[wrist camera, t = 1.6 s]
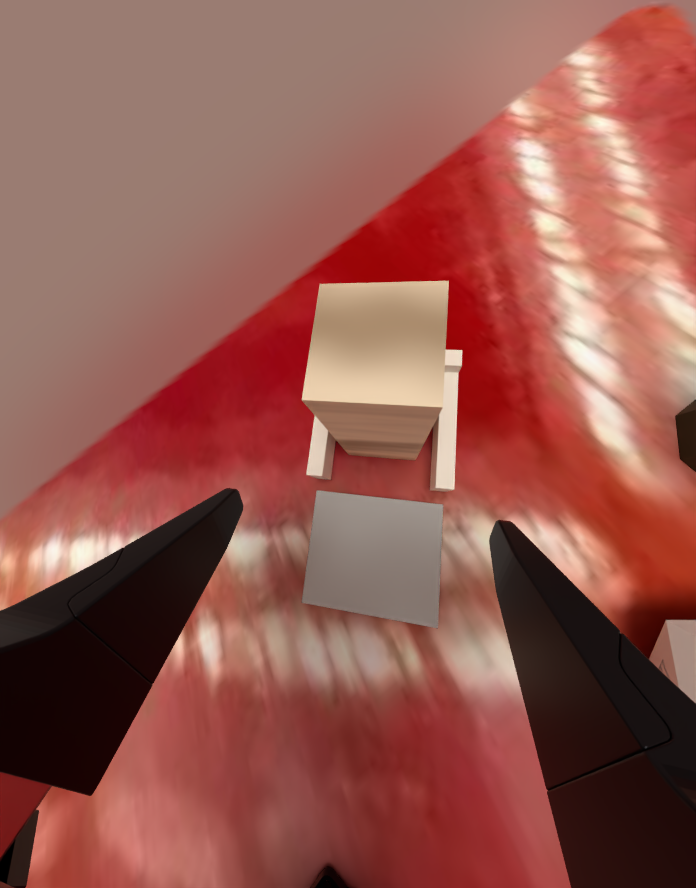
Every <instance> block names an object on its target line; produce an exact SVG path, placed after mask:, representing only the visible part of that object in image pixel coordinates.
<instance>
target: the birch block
mask: <svg viewBox="0 0 696 888" xmlns="http://www.w3.org/2000/svg"><path fill="white" fill-rule="evenodd" d="M448 285H449V281H423V282H383V283H342V284H320V287H319V293H318V299H317V306H316V312H315V319H314V325H313V331H312V338H311V344H310V351H309V357H308V364H307V370H306V376H305V383H304V389H303V396H302V401H303V402H304V403H305V404H306V405H307V407H308V408H309V409H310V410H311V411H312V412H313V414H314V415H315V416H316V417H317V418H318V420H319V421H320V422H321V423H322V424H323V425H324V427H325V428H326V429H327V430H328V431H329V432H330V434H331V435H332V436H333V437H334V438H335V439H336V441H337V442H338V443H339V444H340V445H341V446H342V448H343V449H344V450H345V451H346V452H347V453H348V455H357V456H368V457H380V458H391V459H403V460H414V461H415V460H416V458H417V456H418V454H419V452H420V451H421V449H422V447H423V445H424V443H425V441H426V439H427V437H428V435H429V433H430V431H431V429H432V427H433V425H434V423H435V422H436V420H437V418H438V416H439V414H440V412H441V410H442V408H443V393H444V371H445V350H446V328H447V307H448Z"/></svg>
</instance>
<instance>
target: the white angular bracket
mask: <svg viewBox="0 0 696 888" xmlns="http://www.w3.org/2000/svg"><path fill="white" fill-rule="evenodd" d="M461 366H462V350H445V371H444V393H443V408H442V410H441V412H440V414H439V416H438V418H437V420H436V422H435V423H434V425H433V440H432V458H431V477H430V490H433V491H443V492H447V491H451V490H454V482H455V453H456V425H457V397H458V372H459V370H460V368H461ZM335 443H336V439H335V438H334V437H333V436H332V435H331V434H330V432H329V431H328V430H327V429H326V428H325V427H324V425H323V424H322V423H321V422H320V421H319V420H318V418H317V417H316V416H315V418H314V425H313V432H312V439H311V446H310V453H309V459H308V466H307V473H306V475H309V476H312V477H314V478H318V479H327V480H331V475H332V467H333V459H334V451H335Z"/></svg>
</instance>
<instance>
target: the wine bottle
mask: <svg viewBox="0 0 696 888" xmlns="http://www.w3.org/2000/svg"><path fill="white" fill-rule="evenodd" d="M676 425H677V434H678V443H679V452H680V459H681V460H682V461H683V462H685V463H686V464H687V465H688V466H689V467H691V468H692V469H693V470H694V471H695V472H696V400H695V401H694V402H692V403H691V404H690V405H689V406H687V407H686V408H685V409H684V410H682V411H681V412H680V413H679V414H677V415H676Z"/></svg>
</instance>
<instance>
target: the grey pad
mask: <svg viewBox="0 0 696 888" xmlns="http://www.w3.org/2000/svg"><path fill="white" fill-rule="evenodd" d="M442 521H443V505H442V504H434V503H425V502H416V501H407V500H398V499H389V498H380V497H371V496H362V495H353V494H344V493H335V492H326V491H317V492H316V500H315V507H314V515H313V522H312V529H311V537H310V544H309V552H308V559H307V566H306V574H305V581H304V589H303V596H302V603H306V604H311V605H316V606H322V607H327V608H332V609H337V610H343V611H348V612H353V613H359V614H364V615H369V616H375V617H380V618H385V619H391V620H396V621H401V622H407V623H412V624H417V625H423V626H428V627H433V628H438V615H439V591H440V568H441V545H442Z"/></svg>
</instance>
